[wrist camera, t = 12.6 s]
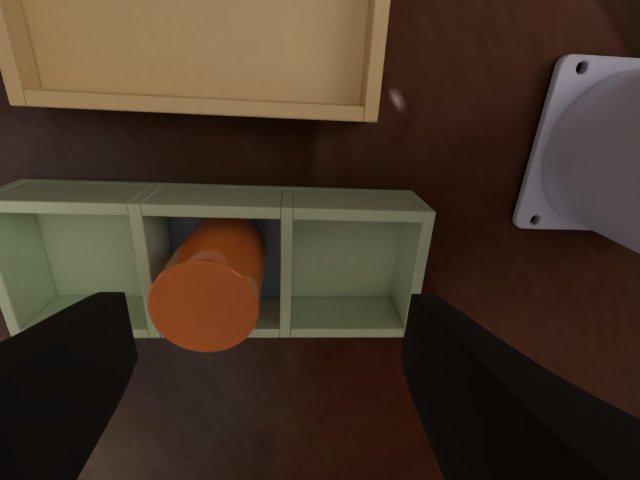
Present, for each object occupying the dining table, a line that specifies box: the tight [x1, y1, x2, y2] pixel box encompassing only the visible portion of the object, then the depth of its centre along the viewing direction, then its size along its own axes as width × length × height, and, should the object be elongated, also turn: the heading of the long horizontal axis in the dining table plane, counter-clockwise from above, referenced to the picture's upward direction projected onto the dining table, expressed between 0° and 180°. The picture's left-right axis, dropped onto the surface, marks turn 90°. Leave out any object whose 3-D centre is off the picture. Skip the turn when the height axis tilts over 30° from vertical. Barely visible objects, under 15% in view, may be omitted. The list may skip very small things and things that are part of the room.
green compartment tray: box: [0, 178, 436, 338], centre depth 17 cm, size 18×6×3 cm, turn 87°
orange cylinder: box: [147, 217, 268, 352], centre depth 15 cm, size 4×4×5 cm
